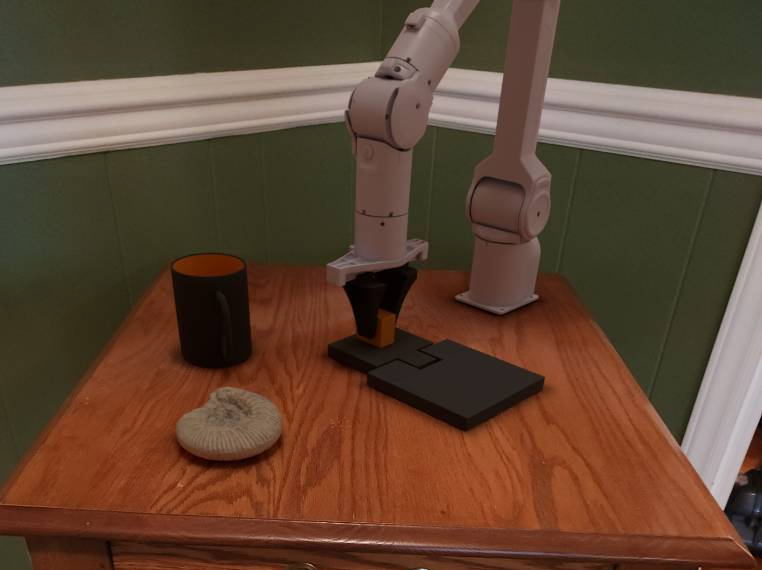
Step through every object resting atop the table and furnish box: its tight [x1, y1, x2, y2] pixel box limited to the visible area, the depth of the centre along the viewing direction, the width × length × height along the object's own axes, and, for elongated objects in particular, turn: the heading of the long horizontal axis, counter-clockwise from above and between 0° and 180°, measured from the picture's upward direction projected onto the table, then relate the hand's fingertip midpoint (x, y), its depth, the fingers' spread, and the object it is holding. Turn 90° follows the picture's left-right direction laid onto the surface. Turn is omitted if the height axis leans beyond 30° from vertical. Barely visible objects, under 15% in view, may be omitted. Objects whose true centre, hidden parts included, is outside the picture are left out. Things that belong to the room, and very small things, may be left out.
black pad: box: [327, 308, 436, 375], centre depth 85 cm, size 10×11×5 cm
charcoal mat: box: [366, 338, 546, 432], centre depth 81 cm, size 14×14×2 cm
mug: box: [169, 252, 253, 369], centre depth 82 cm, size 8×12×10 cm
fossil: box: [175, 386, 283, 462], centre depth 70 cm, size 11×4×10 cm
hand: (376, 332), depth 86 cm, fingers open, 3 cm apart
